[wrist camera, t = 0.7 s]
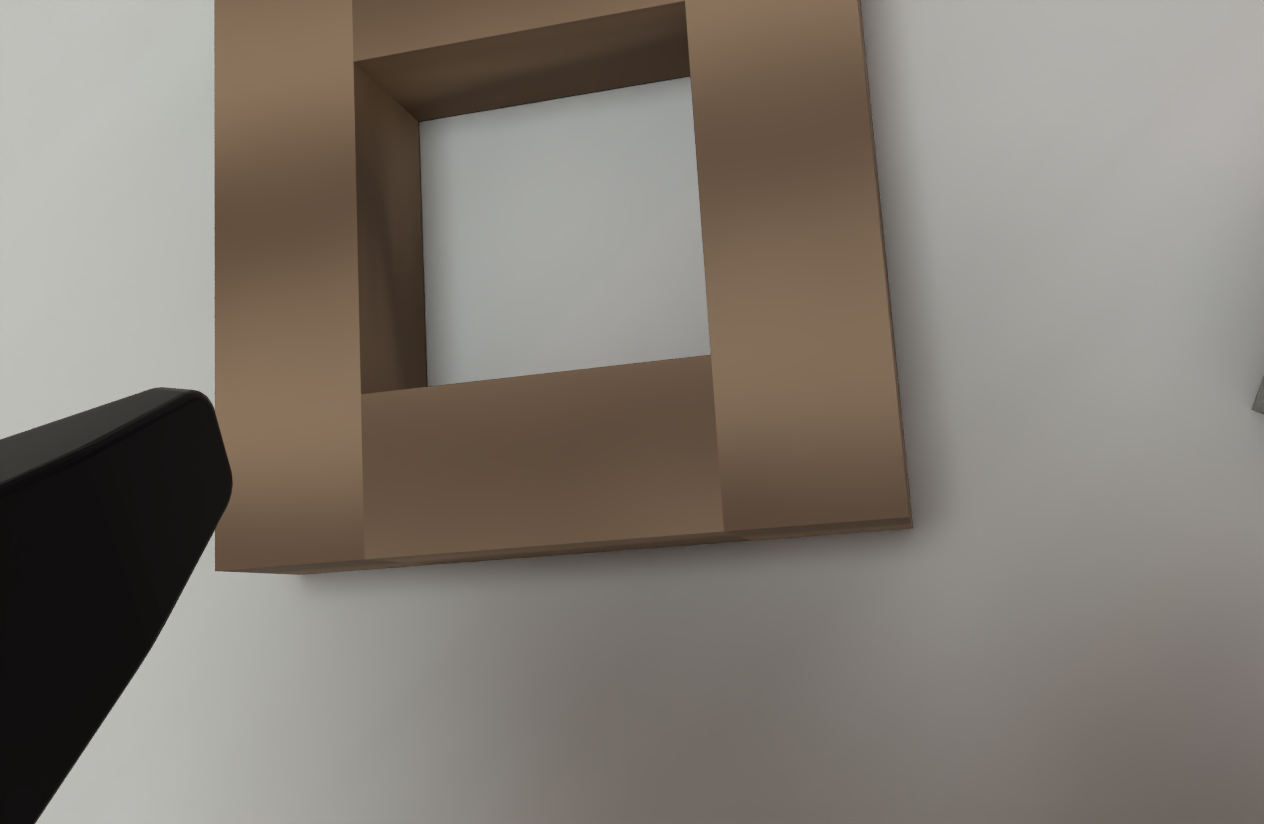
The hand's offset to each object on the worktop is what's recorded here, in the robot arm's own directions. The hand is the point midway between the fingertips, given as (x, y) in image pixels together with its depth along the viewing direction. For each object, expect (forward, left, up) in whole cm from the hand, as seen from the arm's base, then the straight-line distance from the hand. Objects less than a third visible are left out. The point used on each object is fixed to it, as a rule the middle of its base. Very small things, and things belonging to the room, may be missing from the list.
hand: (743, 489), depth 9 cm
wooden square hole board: (+9, 0, -14) cm, 16 cm away
